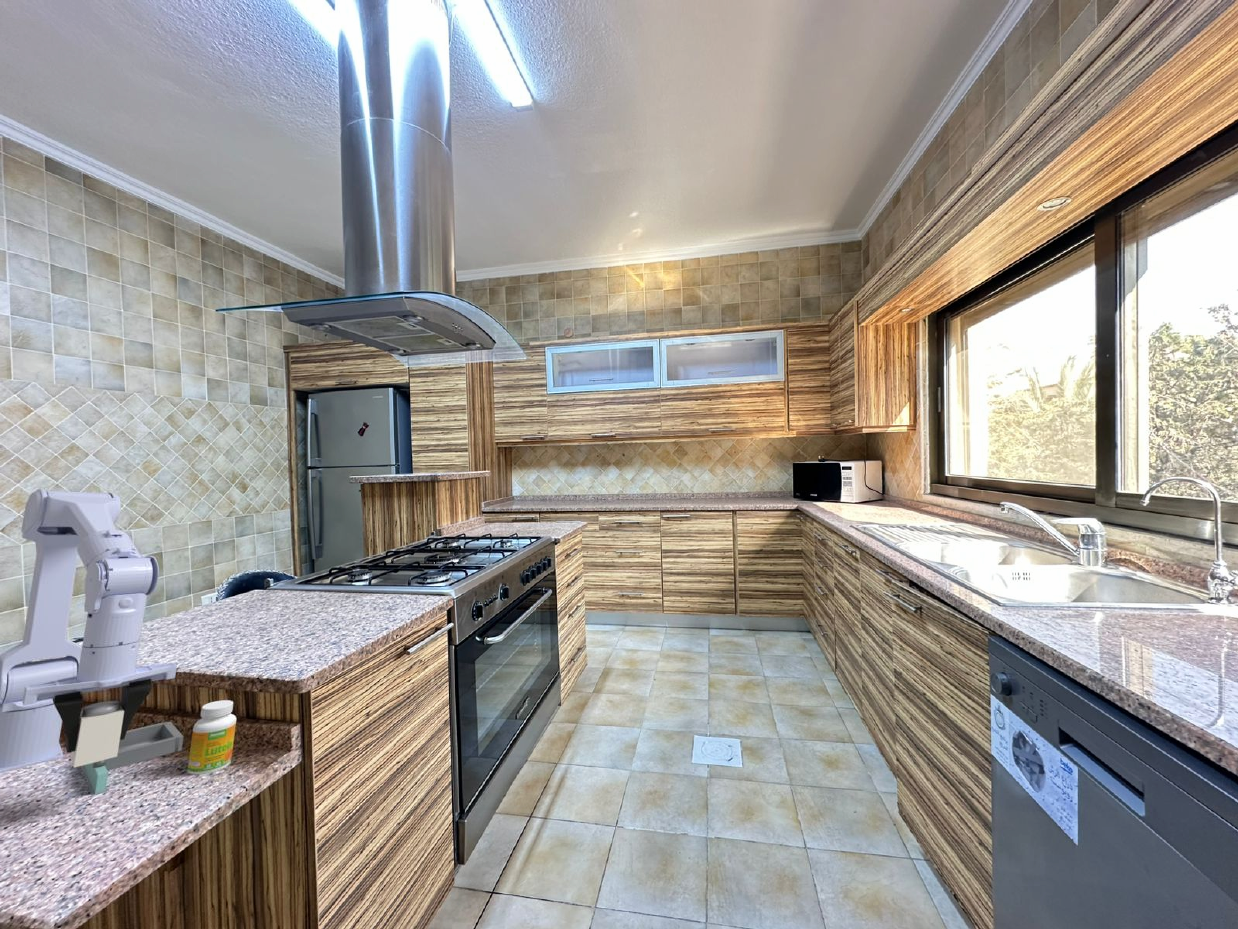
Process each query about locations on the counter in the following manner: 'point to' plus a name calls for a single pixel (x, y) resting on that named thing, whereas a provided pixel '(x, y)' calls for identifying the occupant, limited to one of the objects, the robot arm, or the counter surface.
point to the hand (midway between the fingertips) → (95, 744)
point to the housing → (143, 746)
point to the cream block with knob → (98, 733)
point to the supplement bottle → (212, 738)
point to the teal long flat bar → (97, 775)
